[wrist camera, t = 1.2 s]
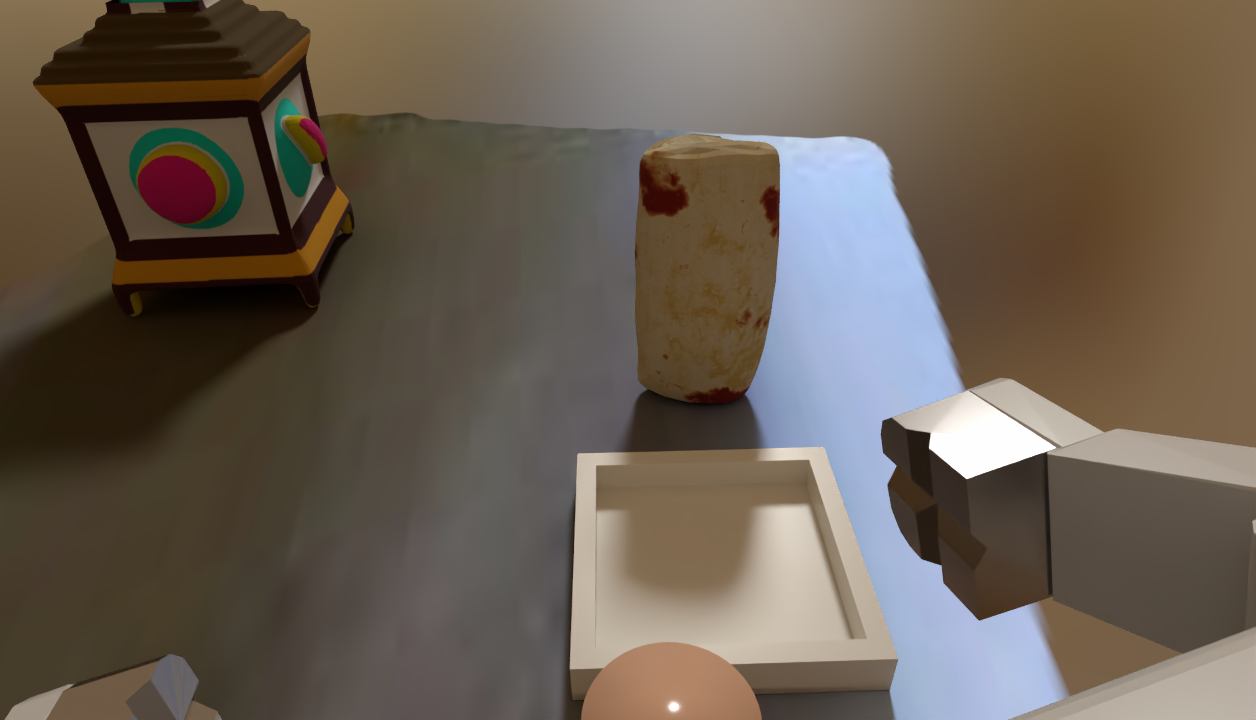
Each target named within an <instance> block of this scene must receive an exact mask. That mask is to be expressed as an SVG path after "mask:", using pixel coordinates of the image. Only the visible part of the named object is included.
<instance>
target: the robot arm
mask: <svg viewBox="0 0 1256 720" xmlns="http://www.w3.org/2000/svg"><path fill="white" fill-rule="evenodd" d="M881 439H882V448H883V453H884V454H885V455H886V456H887V457H888V458H889V459H890V460H891V461H892V462H893V463H895V464H896V465H897V466H896V469H895V471H894V473H893V475H892V477H891V479H890V481H889V483H888V491H889V497H890V503H891V508H892V511H893V514H894V516H895V519H896V521H897V524H898V527H899V529H900V531H901V533H902V534H903V536H904V538H905V539H906V541H907V542H908V544H909V546H910V547H911V548H912V549H913V550H914V551H915V552H916V553H917V555H918V556H919V557H920V558H921V559H923V560H926V561H929V562H932V563H935V564H939V565H942V574H943V582H944V584H945V585H946V586H947V587H948V588H949V589H950V590H951V591H952V592H953V593H954V594H955V596H956V597H957V598H958V599H959V600H960V601H961V602H962V603H963V604H964V605H965V606H966V607H967V608H968V609H969V610H970V611H971V612H972V614H973V615H974V616H975V617H976V618H977V619H978V620H979V621H980V620H983V619H986V618H989V617H992V616H995V615H998V614H1001V613H1004V612H1007V611H1010V610H1013V609H1016V608H1019V607H1022V606H1025V605H1028V604H1032V603H1035V602H1038V601H1041V600H1044V599H1047V598H1050V597H1053V600H1054V601H1056V602H1058V603H1061V604H1063V605H1066V606H1068V607H1070V608H1073V609H1075V610H1078V611H1080V612H1083V613H1085V614H1087V615H1090V616H1093V617H1095V618H1097V619H1100V620H1102V621H1104V622H1107V623H1109V624H1112V625H1114V626H1117V627H1119V628H1122V629H1124V630H1126V631H1129V632H1131V633H1134V634H1136V635H1138V636H1141V637H1144V638H1146V639H1148V640H1151V641H1153V642H1155V643H1158V644H1160V645H1163V646H1165V647H1168V648H1170V649H1172V650H1175V651H1177V652H1180V653H1182V654H1181V655H1179V656H1176V657H1173V658H1171V659H1168V660H1165V661H1163V662H1160V663H1157V664H1155V665H1152V666H1149V667H1147V668H1144V669H1142V670H1139V671H1136V672H1134V673H1131V674H1129V675H1126V676H1124V677H1121V678H1118V679H1115V680H1113V681H1110V682H1107V683H1105V684H1102V685H1099V686H1097V687H1094V688H1092V689H1089V690H1086V691H1084V692H1081V693H1078V694H1076V695H1073V696H1070V697H1068V698H1065V699H1063V700H1060V701H1057V702H1055V703H1052V704H1049V705H1047V706H1044V707H1041V708H1038V709H1036V710H1033V711H1030V712H1028V713H1025V714H1022V715H1020V716H1017V717H1014V718H1012V719H1009V720H1256V448H1251V447H1245V446H1238V445H1230V444H1223V443H1216V442H1209V441H1202V440H1195V439H1188V438H1181V437H1174V436H1167V435H1159V434H1152V433H1145V432H1138V431H1131V430H1123V429H1115V430H1112V431H1108V432H1106V433H1104V432H1102V431H1100V430H1099V429H1097V428H1095V427H1094V426H1092V425H1090V424H1088V423H1086V422H1085V421H1083V420H1081V419H1080V418H1078V417H1076V416H1074V415H1073V414H1071V413H1069V412H1068V411H1066V410H1064V409H1062V408H1061V407H1059V406H1057V405H1055V404H1053V403H1052V402H1050V401H1048V400H1047V399H1045V398H1043V397H1042V396H1040V395H1038V394H1036V393H1035V392H1033V391H1031V390H1030V389H1028V388H1026V387H1024V386H1022V385H1021V384H1019V383H1017V382H1016V381H1014V380H1012V379H1005V378H999V379H996V380H993V381H990V382H988V383H986V384H983V385H980V386H977V387H974V388H972V389H969V390H967V391H964V392H961V393H959V394H956V395H954V396H951V397H948V398H945V399H942V400H940V401H937V402H934V403H931V404H928V405H926V406H923V407H920V408H917V409H914V410H912V411H909V412H906V413H903V414H900V415H898V416H895V417H892V418H889V419H886V420H884V421H883V422H882V429H881ZM198 682H199V681H198V679H197V678H196V676H195V675H194V673H193V672H192V670H191V669H190V667H189V666H188V664H187V663H186V661H185V660H184V658H181V657H178V656H175V655H172V654H168V655H165V656H161V657H158V658H155V659H152V660H148V661H145V662H142V663H139V664H135V665H132V666H129V667H126V668H122V669H119V670H116V671H113V672H109V673H106V674H103V675H100V676H96V677H93V678H90V679H87V680H83V681H80V682H77V683H76V684H72V685H66V686H63V687H60V688H57V689H55V690H52V691H49V692H46V693H43V694H40V695H37V696H34V697H31V698H29V699H27V700H25V701H23V702H21V703H19V704H17V705H16V706H14V707H13V708H12V710H11V711H10V713H9V714H8V716H7V717H6V719H5V720H222V719H221V717H220V715H219V714H218V712H217V711H215V710H213V709H211V708H208V707H206V706H204V705H202V704H199V703H197V702H195V701H194V697H195V693H196V689H197V685H198Z"/></svg>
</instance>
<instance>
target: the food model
mask: <svg viewBox="0 0 1256 720" xmlns="http://www.w3.org/2000/svg"><path fill="white" fill-rule="evenodd" d="M779 204H780V163H779V155H778V152H777V150H776V149H775V148H774V147H773V146H772V145H770V144H767V143H764V142H752V141H733V140H728V139H723V138H721V137H720V136H711V135H702V134H689V135H681V136H675V137H671V138H667V139H664V140H661V141H659V142H657V143H655V144H653V145H652V146H651V147H650V148H649V149H648V150H647V151H646V152H645V153H644V154H643V156H642V158H641V161H640V171H639V203H638V211H637V221H636V241H635V269H636V300H635V323H636V334H637V344H638V380H639V382H640V383H641V384H642V385H643V386H644V387H645V388H647V389H649V390H652V391H654V392H656V393H658V394H660V395H662V396H665V397H669V398H672V399H677V400H681V401H686V402H694V403H726V402H732V401H735V400H737V399H739V398H742V396H743V395H744V394H745V393H746V391H747V390H748V388H749V387H750V385H751V383H752V380H753V378H754V376H755V374H756V371H757V368H758V365H759V362H760V359H761V356H762V352H763V349H764V345H765V340H766V335H767V330H768V325H769V320H770V315H771V309H772V302H773V295H774V289H775V283H776V269H777V257H778V245H779Z"/></svg>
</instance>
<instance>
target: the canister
mask: <svg viewBox="0 0 1256 720" xmlns="http://www.w3.org/2000/svg"><path fill="white" fill-rule="evenodd" d="M581 720H762V717H761V712H760V708H759V704H758V702H757V699H756V697H755V694H754V693H753V691H752V689H751V687H750V685H749V684H748V683H747V681H746V680H745V678H744V677H743V676H742V675H741V674H740V673H739V672H738V671H737V669H736V668H734V667H733V666H732V665H731V664H730V663H728V662H727V661H726V660H724V659H723V658H721V657H720V656H718V655H716V654H714V653H712V652H710V651H708V650H706V649H703V648H700V647H698V646H694V645H690V644H685V643H678V642H660V643H652V644H647V645H643V646H640V647H637V648H634V649H632V650H629V651H627V652H625V653H623V654H622V655H620V656H618V657H617V658H615V659H614V660H613V661H611V662H610V663H609V664H608V665H606V666H605V668H604V669H603V670H602V671H601V672H600V673H599V674H598V675H597V677H596V678H595V679H594V681H593V682H592V684H591V686H590V688H589V690H588V692H587V695H586V697H585V700H584V704H583V708H582V715H581Z"/></svg>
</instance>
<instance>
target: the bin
mask: <svg viewBox="0 0 1256 720" xmlns="http://www.w3.org/2000/svg"><path fill="white" fill-rule="evenodd" d="M660 642H678V643H685V644H690V645H694V646H698V647H700V648H703V649H706V650H708V651H710V652H712V653H714V654H716V655H718V656H720V657H721V658H723V659H724V660H726V661H727V662H728V663H730V664H731V665H732V666H733V667H734V668H736V669H737V671H738V672H739V673H740V674H741V675H742V676H743V677H744V678H745V680H746V681H747V683H748V684H749V685H750V687H751V689H752V691H753V693H754V694H779V693H810V692H841V691H872V690H890V687H891V684H892V680H893V676H894V673H895V669H896V665H897V662H898V657H897V654H896V651H895V648H894V645H893V642H892V640H891V637H890V634H889V631H888V628H887V625H886V623H885V620H884V617H883V614H882V611H881V608H880V606H879V603H878V600H877V597H876V594H875V591H874V588H873V586H872V583H871V580H870V577H869V574H868V571H867V569H866V566H865V563H864V560H863V557H862V554H861V552H860V549H859V546H858V543H857V540H856V537H855V534H854V532H853V529H852V526H851V523H850V520H849V517H848V515H847V512H846V509H845V506H844V503H843V500H842V498H841V495H840V492H839V489H838V486H837V483H836V481H835V478H834V475H833V472H832V469H831V466H830V463H829V461H828V458H827V455H826V452H825V449H824V447H806V448H769V449H732V450H695V451H659V452H622V453H585V454H578V457H577V485H576V512H575V540H574V567H573V594H572V622H571V649H570V678H571V690H572V700H585V697H586V695H587V692H588V690H589V688H590V686H591V684H592V682H593V681H594V679H595V678H596V677H597V675H598V674H599V673H600V672H601V671H602V670H603V669H604V668H605V666H606V665H608V664H609V663H610V662H611V661H613V660H614V659H615V658H617V657H618V656H620V655H622V654H623V653H625V652H627V651H629V650H632V649H634V648H637V647H640V646H643V645H647V644H652V643H660Z"/></svg>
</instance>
